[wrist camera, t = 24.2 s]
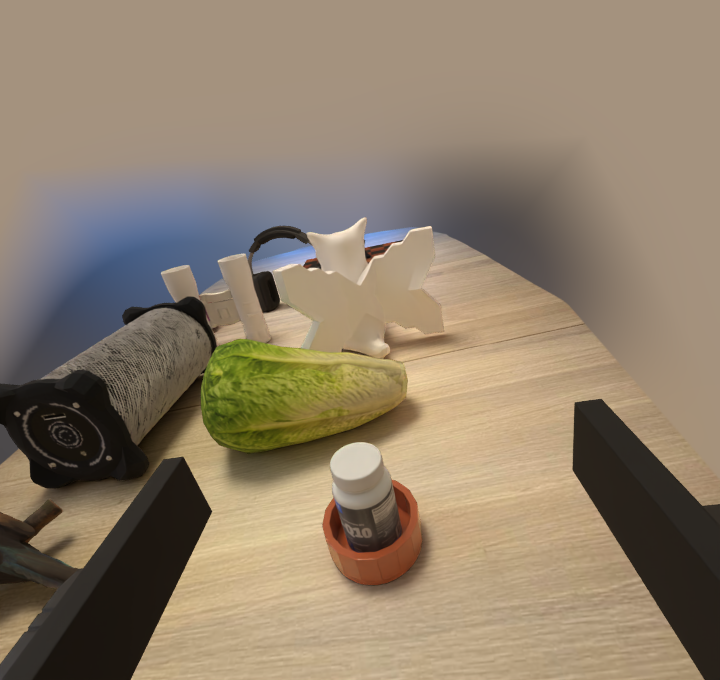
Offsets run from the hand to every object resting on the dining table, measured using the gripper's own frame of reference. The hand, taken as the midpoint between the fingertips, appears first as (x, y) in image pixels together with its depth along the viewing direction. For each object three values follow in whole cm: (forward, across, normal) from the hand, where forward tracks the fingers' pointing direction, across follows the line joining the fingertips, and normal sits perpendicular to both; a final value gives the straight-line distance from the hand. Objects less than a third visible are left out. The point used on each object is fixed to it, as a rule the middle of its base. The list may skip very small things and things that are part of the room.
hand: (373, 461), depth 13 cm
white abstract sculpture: (+51, -7, -19) cm, 55 cm away
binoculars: (+61, -35, -19) cm, 73 cm away
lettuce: (+29, -11, -19) cm, 36 cm away
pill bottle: (+12, -4, -19) cm, 23 cm away
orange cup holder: (+12, -4, -19) cm, 23 cm away
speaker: (+36, -39, -19) cm, 56 cm away
